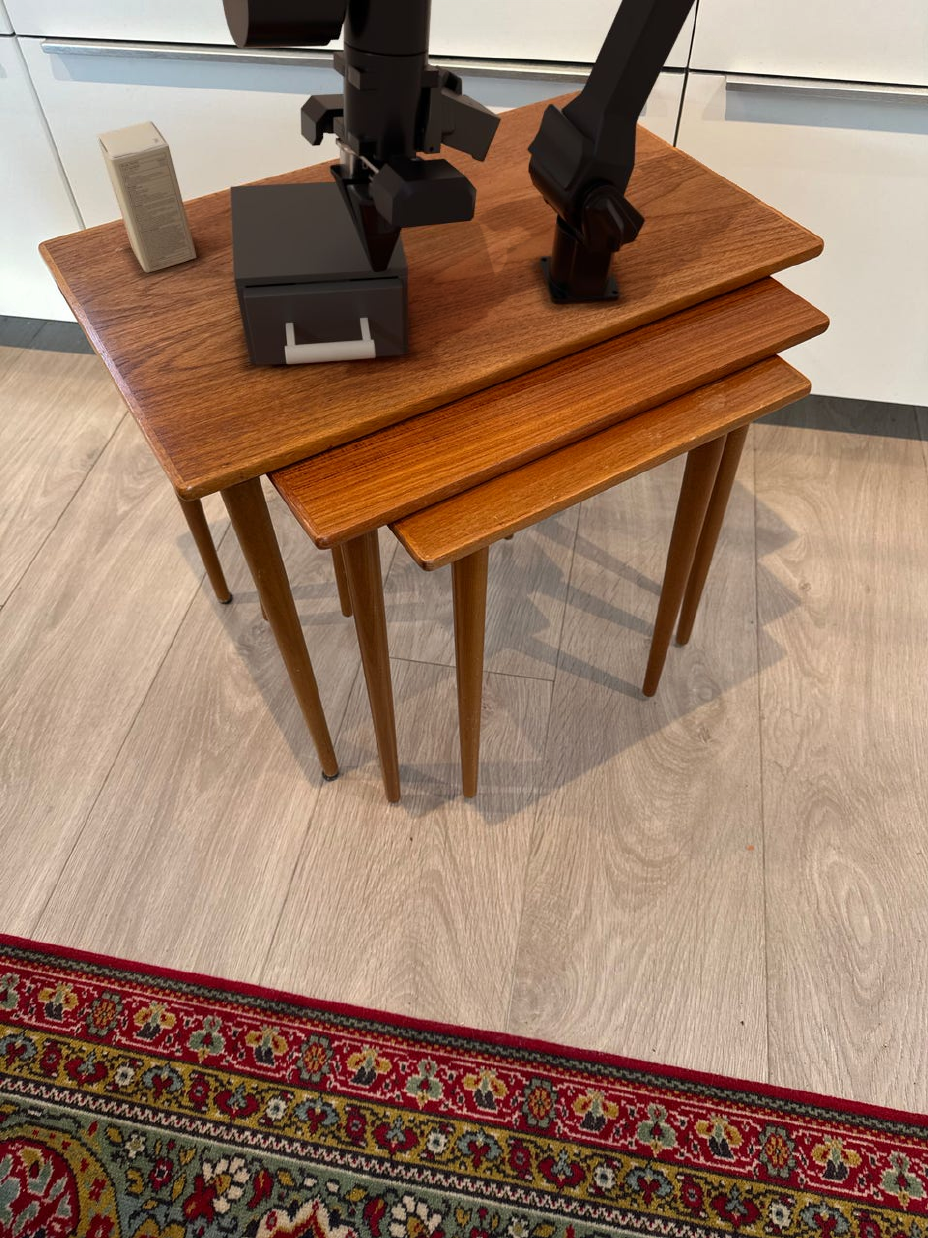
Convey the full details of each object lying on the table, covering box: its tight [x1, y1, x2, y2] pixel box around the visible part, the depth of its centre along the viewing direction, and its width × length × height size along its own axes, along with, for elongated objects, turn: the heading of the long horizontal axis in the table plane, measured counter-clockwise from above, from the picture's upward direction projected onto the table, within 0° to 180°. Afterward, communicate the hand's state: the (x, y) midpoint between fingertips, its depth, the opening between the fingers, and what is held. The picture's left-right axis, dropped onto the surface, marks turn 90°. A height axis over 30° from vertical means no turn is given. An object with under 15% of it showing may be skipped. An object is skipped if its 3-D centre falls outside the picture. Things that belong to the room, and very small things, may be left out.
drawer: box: [244, 277, 404, 366], centre depth 77 cm, size 16×12×7 cm
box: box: [96, 120, 197, 273], centre depth 82 cm, size 5×4×11 cm
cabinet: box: [229, 180, 409, 366], centre depth 79 cm, size 13×14×9 cm
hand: (379, 270), depth 72 cm, fingers closed, pressing on cabinet
